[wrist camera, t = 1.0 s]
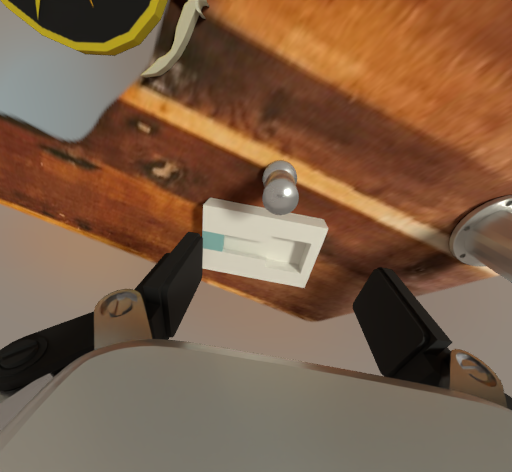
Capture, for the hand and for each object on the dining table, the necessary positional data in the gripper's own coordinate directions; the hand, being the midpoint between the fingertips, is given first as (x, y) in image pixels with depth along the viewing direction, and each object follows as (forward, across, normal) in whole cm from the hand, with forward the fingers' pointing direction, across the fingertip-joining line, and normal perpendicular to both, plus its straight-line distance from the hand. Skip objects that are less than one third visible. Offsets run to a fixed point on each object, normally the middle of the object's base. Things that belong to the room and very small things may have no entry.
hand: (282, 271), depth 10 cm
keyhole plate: (+23, +1, +12) cm, 26 cm away
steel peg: (+23, 0, 0) cm, 23 cm away
